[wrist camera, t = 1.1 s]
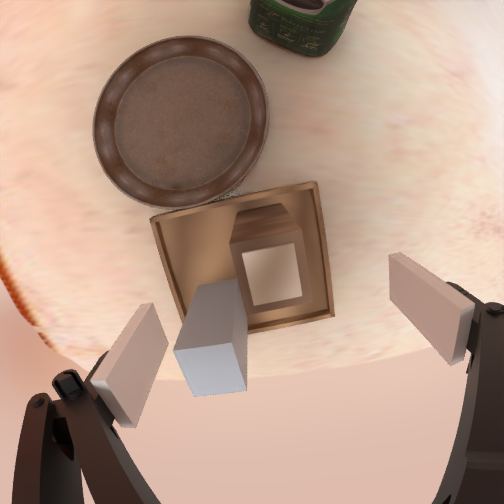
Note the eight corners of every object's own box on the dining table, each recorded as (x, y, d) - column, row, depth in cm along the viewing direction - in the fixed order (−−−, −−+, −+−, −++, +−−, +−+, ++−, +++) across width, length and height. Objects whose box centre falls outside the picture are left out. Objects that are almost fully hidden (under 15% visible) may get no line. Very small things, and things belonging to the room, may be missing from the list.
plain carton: (237, 278, 31) (231, 342, 20) (247, 317, 33) (246, 390, 21) (197, 285, 31) (172, 350, 20) (209, 323, 33) (193, 396, 21)
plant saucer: (204, 237, 30) (199, 245, 28) (80, 155, 27) (65, 155, 24) (300, 99, 26) (306, 92, 23) (164, 24, 23) (157, 13, 20)
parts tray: (313, 181, 29) (317, 182, 27) (331, 310, 33) (334, 316, 31) (153, 216, 29) (149, 218, 28) (192, 336, 34) (189, 343, 32)
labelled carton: (281, 202, 29) (302, 230, 17) (289, 249, 30) (313, 303, 19) (237, 211, 29) (228, 245, 17) (247, 258, 31) (246, 316, 19)
